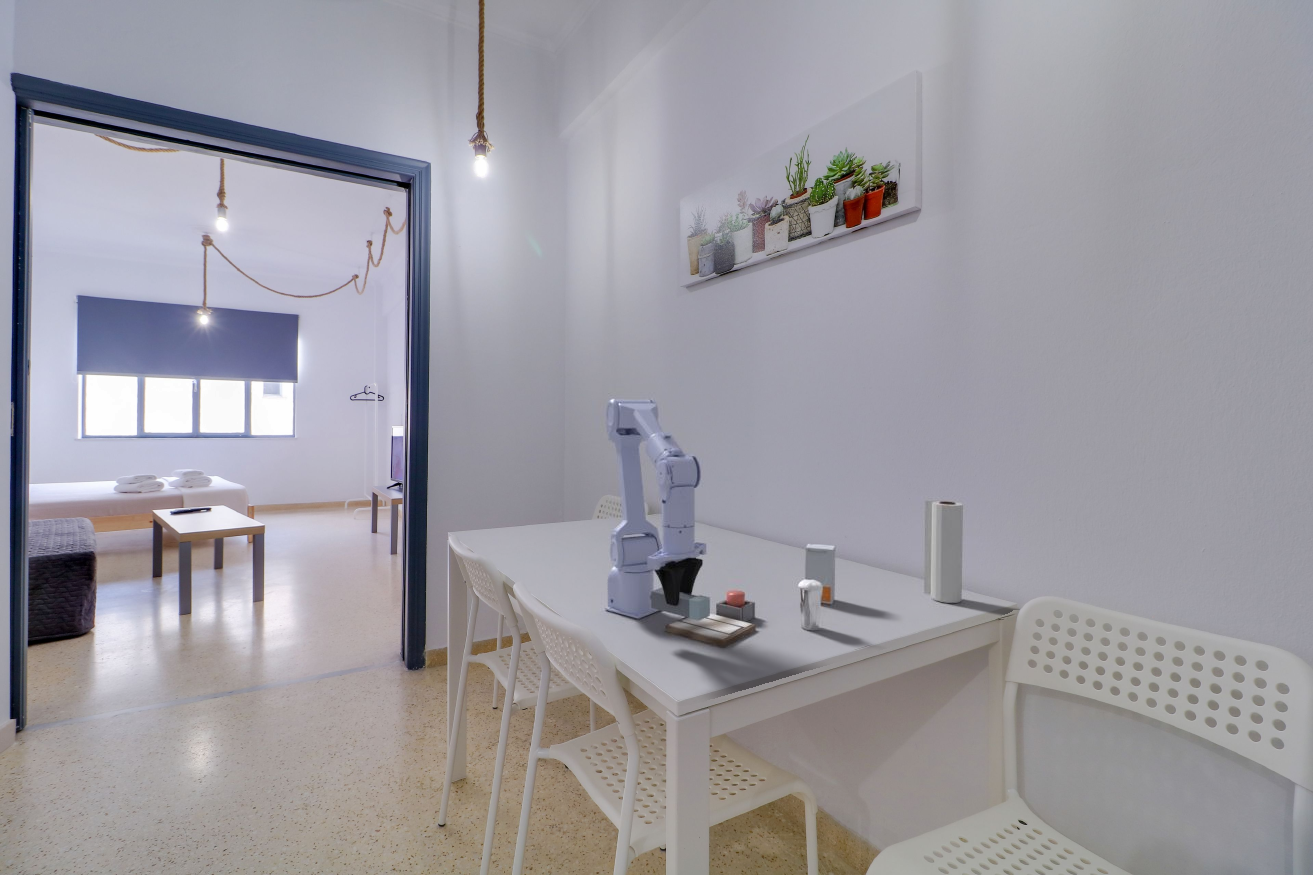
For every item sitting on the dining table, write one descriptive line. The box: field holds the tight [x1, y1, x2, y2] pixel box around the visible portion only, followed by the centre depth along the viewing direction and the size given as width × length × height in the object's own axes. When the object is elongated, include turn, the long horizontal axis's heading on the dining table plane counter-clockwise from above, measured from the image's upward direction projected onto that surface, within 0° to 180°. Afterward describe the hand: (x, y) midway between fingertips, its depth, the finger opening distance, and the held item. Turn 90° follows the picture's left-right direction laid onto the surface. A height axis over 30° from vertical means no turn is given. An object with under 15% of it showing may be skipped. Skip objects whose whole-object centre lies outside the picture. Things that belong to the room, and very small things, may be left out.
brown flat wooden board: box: [664, 613, 756, 649], centre depth 114 cm, size 13×11×1 cm
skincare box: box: [804, 543, 837, 605], centre depth 131 cm, size 6×4×12 cm
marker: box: [650, 587, 711, 621], centre depth 106 cm, size 12×3×3 cm, turn 51°
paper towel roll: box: [923, 500, 964, 604], centre depth 132 cm, size 7×6×21 cm
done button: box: [726, 590, 746, 608], centre depth 121 cm, size 4×4×3 cm
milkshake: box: [797, 578, 827, 632], centre depth 114 cm, size 5×5×10 cm
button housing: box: [715, 598, 756, 623], centre depth 121 cm, size 6×6×3 cm
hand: (678, 601), depth 106 cm, fingers closed on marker, 3 cm apart
